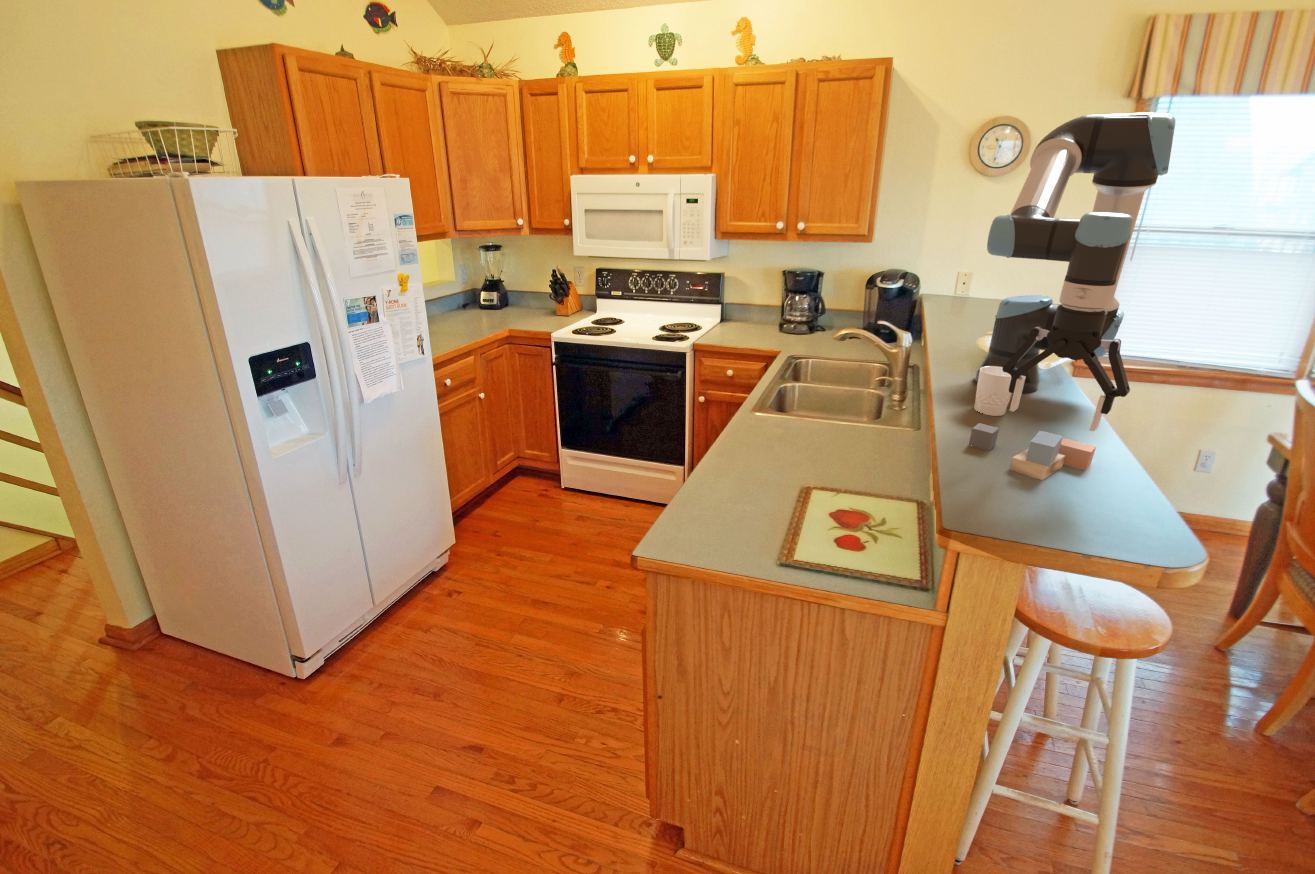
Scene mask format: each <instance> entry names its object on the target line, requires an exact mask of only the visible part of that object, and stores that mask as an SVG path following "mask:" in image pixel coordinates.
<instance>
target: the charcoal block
mask: <svg viewBox="0 0 1315 874" xmlns="http://www.w3.org/2000/svg"><path fill="white" fill-rule="evenodd" d="M999 431H1000V427H996V426H992V425H988V424H986V423H981V422H978V423H977V424H976V425H975V426H973V427H972V429H971V433H970V437H969V443H968V446H969V445H972V446H971V447H973V446H975V447H974V448H976V447H978V448H977V449H980V448H981V449H980V450H983V449H984V451H986V452H989V451H991V450H992V449H993V448H994V447H995V446H996V443H997V439H998V436H999Z"/></svg>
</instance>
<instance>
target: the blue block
mask: <svg viewBox="0 0 1315 874" xmlns="http://www.w3.org/2000/svg"><path fill="white" fill-rule="evenodd" d="M1063 436H1064V435H1061V434H1057V433H1056V434H1055V433H1051V432H1049V431H1048V432H1047V431H1043V430H1039V431H1038V432H1037V433H1036V434H1035V436H1034V437H1033V438H1032V439H1031V440H1030V442H1029V446H1028V448H1029V449H1028V448H1027V449H1028V453H1027V457H1026V461H1029V462H1033V463H1037V464H1041V465H1045V466H1048V467H1049V466H1050V465H1051V463H1052V462H1053V461H1054V459H1055V458H1056V456H1057V455H1058V452H1059V448H1060V445H1061V441H1062V438H1064V437H1063Z"/></svg>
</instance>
